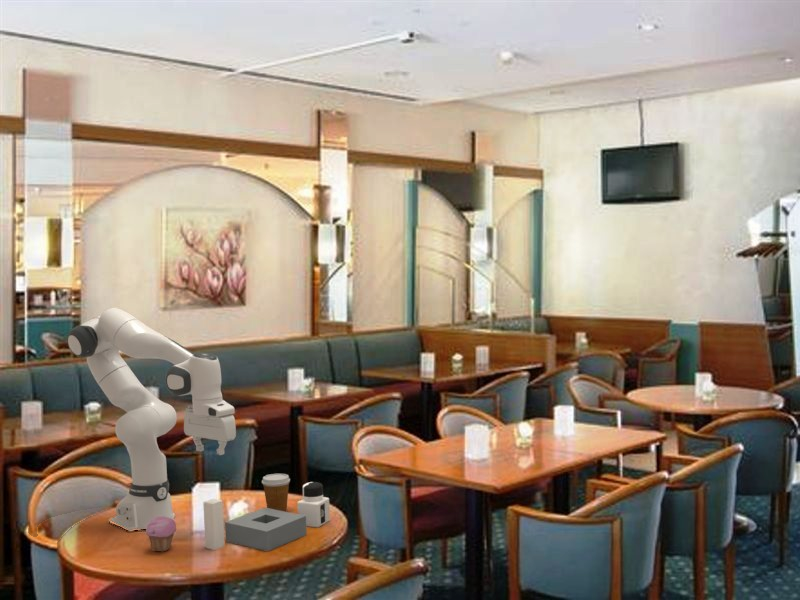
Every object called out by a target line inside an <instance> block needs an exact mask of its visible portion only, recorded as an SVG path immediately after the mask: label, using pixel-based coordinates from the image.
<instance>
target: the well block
mask: <svg viewBox="0 0 800 600" xmlns="http://www.w3.org/2000/svg"><path fill="white" fill-rule="evenodd" d="M224 525H225V527H224V528H225V529H224V533H225V542H227V543H230V544H235V545H238V546H239V545H240V546H244V547H248V548H252V549H255V550H260V551H263V552H269V551H271V550H275V549H277V548H279V547H281V546H283V545H286V544H288V543H290V542H293V541H296V540H297V539H300V538H303V537H305V536H307V526H306V516H304V515H299V514H298V513H295V512H288V511H286V512H284V511H280V510H275V509H270V508H267V507H263V508H261V509H257V510H254V511H251V512H249V513H246V514H243V515H241V516H238V517H235V518H233V519H230V520H228V521H225V522H224Z"/></svg>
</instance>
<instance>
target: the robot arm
mask: <svg viewBox="0 0 800 600" xmlns="http://www.w3.org/2000/svg"><path fill="white" fill-rule="evenodd" d="M66 343H67V346H68V348H69V350H70V352H71V353H72V354H73V355H74V356H76V357H77V358H80V359H85V358H86V363H87V365H88V366H87V367H88V369H89V370H90V373H91V374H92V376H93V378H94V380H95V381H96V383H97V385H98V386H99V387H100V389H101V390H102V392H103V393H104V395H105V396H106V398H107V399H108V400H109V402H110V403H111V404H112V405H113V406H114V407H117V408H120V409H122V410H123V411H124V412H125V414H123V415H122V416H120V417H119V418H118V419H117V421H116V423H115V428H114V429H115V431H114V432H115V435H116V437H117V439H118V440H119V441H120V442H121V443H123V444H124V446H125V448H126V450H127V453H128V455H129V459H130V467H131V480H132V481H131V482H129V483H126V485H128V486H127V488H129V490H128V494H126V496H125V497H123V498H122V499H121V500H120V501H119V502H117V504H116V508H115V515H114V516H112V517H110V518H109V519H108V521H109V520H110V521H112V522H114V523H116V524H118V525H120V526H122V527H124V528H126V529H128V530H133V529H146V528H147V526H148V524H149V523H150V522H151V520H152V519H153V518H155V517H161V516H163V517H168V518H172V519H173V520H174V521H175V517H176V513H174V511H173V505H172V498H171V494H170V492H169V491H170V483H169V479H168V473H167V472H168V471H167V468H168V467H167V457H166V455H165V454H164V453H163V452H162V451H161V450H160V448H159V445H158V441H157V438H159V437H162V436H163V435H166V434H167V433H168V432H169V431H171V430H172V429H173V428H174V427H175V426H176V424H177V419H178V415H177V412H176V409H175V408H174V407H173V406H172V405H171V404H169V403H167V402H164V401H162V400H161V399H159V398H158V397H156V396H155V395H154V394H153V393H152V392H151V391H149V390H148V389H147V388H146V387H145V386H144V385H143V384H142V383H141V382H140V380H139V379H138V378H137V376H136V375H135V373H134V372H133V370H131V367H130V366H129V365H128V364H127V362H126V361H125V360H124V358H123V357H122V355H121V353H122V354H124V355H126V356H128V357H130V358H134V359H156V360H157V359H158V360H164V361H167V362H169V363H172V366H170V367H169V368H168V369H167V371H166V373H165V376H164V377H165V378H164V383H165V387H166V389H167V390H168V392H169V393H170V394H171V395H173V396H177V397H178V396H179V397H182V396H187V395H191V396H192V398H191V400H192V404H189V405H187V407H186V408H185V412H184V417H183V418H184V420H183V433H184V434H185V436H189V437H192V441H193V442H194V444H195V446H196V448H195V450H196V452H204V451H205V447H204V446H205V445H204V444H203V443H202V439H207V440H213V441H214V440H215V441H217V442H218V448H216V455H218V456H222V455H225V448H226V446H227V445H228V444H227V443H228V442H229V441H233V440H235V438H236V436H237V429H236V428H237V427H236V426H237V425H236V419H235V416H234V414H235V410H236V409H235V407H234V406H233V404H232V405H231V404H230V403H229V402H227V401H225V400H224V398H223V394H222V391H221V390H222V387H221V386H222V382H223V381H222V370H221V364H220V361H219V358H218V356H217V355H216V354H214V353H211V352H196V353H194V352H192V351H191V350H190V349H187V348H186V347H185V346H183V345H182V344H180V343H178V342H177V341H175V340H173V339H171V338H170V337H167V336H165V335H163V334H162V333H159V332H158V331H156V330H155V329H153V328H151V327H150V326H148V325H147V324H145V323H143V322H142V321H141V320H140V319H139V318H137V317H136V316H134V315H133V314H131V313H129V312H127V311H126V310H123V309H121V308H119V307H110V308H107V309H106V310H105V311H103V312H102V314H100V315H97V316H96V317H93V318H92V319H90V320H87V321H85V322H83V323H82V324H80V325H76V326H75V327H73V328H72V329H71V330H70V331H68V333H67V337H66ZM120 352H121V353H120ZM113 517H116V518H113Z"/></svg>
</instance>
